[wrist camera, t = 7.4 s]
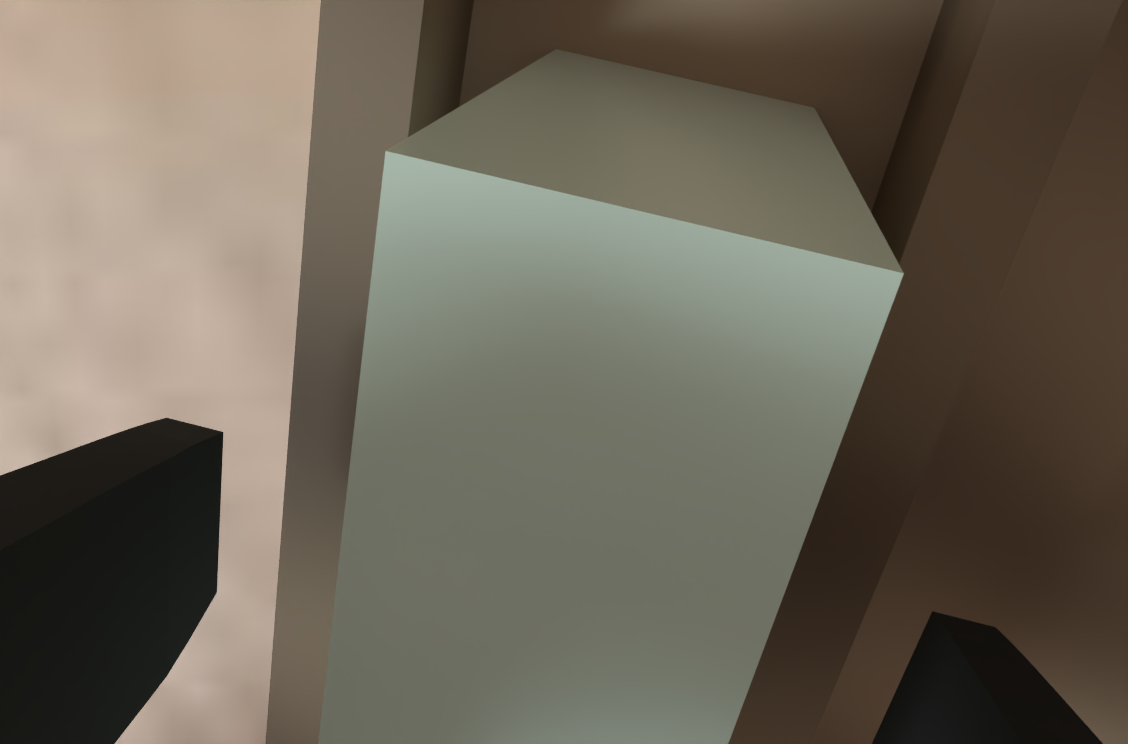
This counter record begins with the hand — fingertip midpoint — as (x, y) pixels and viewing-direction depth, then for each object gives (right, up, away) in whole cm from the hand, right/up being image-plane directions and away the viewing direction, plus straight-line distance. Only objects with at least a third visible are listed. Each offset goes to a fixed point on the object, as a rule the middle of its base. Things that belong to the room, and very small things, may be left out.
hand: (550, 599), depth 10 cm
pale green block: (+1, +2, +3) cm, 4 cm away
